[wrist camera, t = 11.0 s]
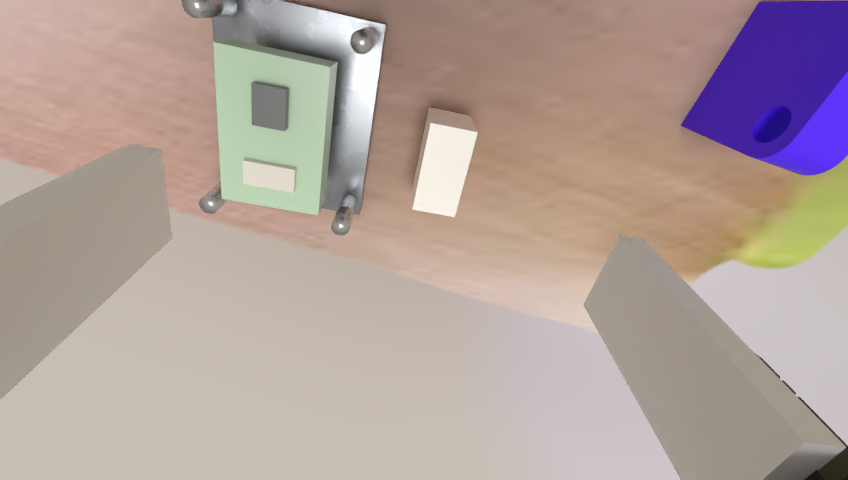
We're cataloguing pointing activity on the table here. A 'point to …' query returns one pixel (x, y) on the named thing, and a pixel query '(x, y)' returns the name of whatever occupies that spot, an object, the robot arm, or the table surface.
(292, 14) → the chassis
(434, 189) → the block
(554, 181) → the table surface
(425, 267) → the table surface
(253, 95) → the board
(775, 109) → the bracket
